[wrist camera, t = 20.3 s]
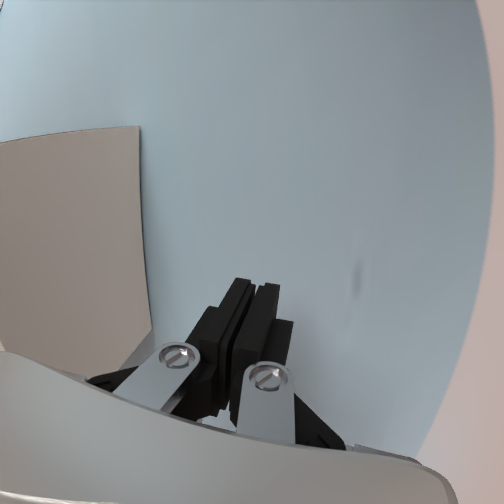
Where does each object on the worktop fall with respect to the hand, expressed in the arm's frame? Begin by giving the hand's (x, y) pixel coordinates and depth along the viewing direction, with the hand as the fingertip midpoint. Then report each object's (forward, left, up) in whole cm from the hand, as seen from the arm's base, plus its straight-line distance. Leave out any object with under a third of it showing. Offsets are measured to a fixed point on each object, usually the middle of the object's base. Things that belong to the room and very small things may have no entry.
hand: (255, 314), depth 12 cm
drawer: (0, -15, -6) cm, 16 cm away
